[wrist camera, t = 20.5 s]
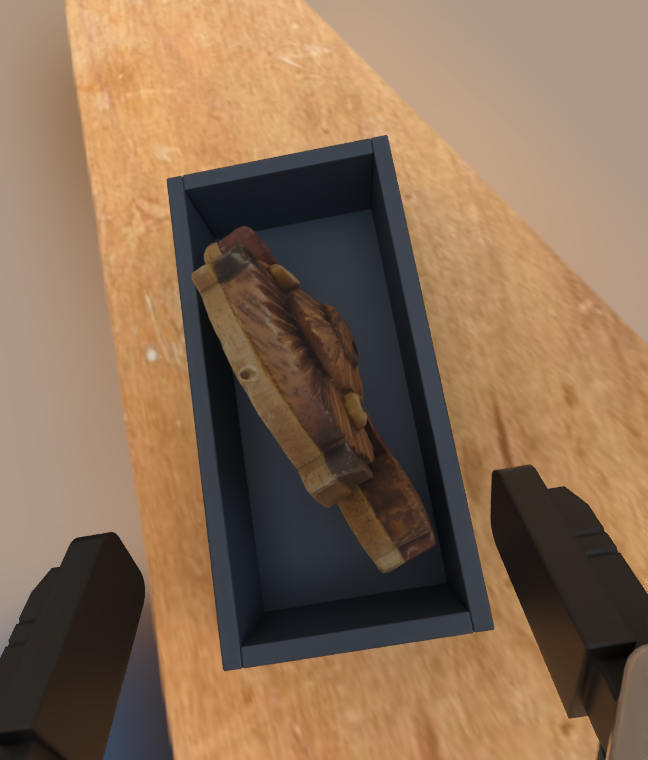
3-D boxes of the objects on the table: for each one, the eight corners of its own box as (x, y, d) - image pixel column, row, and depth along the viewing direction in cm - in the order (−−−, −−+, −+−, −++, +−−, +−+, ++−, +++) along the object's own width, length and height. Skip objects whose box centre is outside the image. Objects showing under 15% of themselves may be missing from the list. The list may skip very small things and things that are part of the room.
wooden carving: (454, 508, 24) (517, 532, 15) (379, 562, 24) (390, 624, 14) (273, 257, 28) (224, 138, 18) (205, 303, 27) (118, 208, 18)
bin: (382, 201, 29) (387, 134, 23) (463, 593, 24) (495, 630, 19) (204, 235, 29) (165, 178, 23) (254, 626, 25) (222, 672, 19)
